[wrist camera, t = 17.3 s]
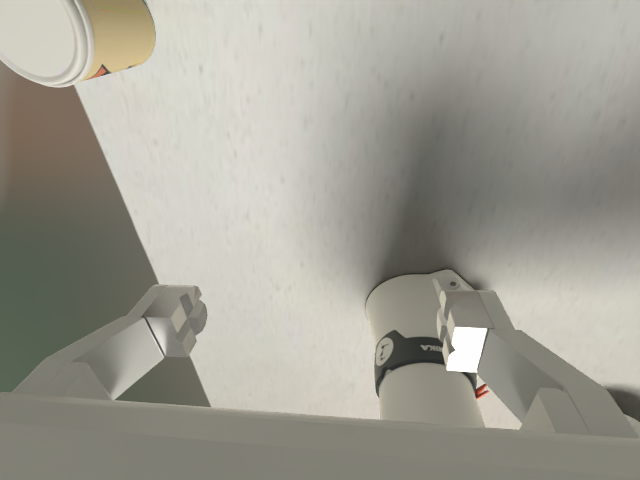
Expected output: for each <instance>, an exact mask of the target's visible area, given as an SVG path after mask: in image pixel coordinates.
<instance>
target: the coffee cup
mask: <svg viewBox="0 0 640 480" xmlns="http://www.w3.org/2000/svg"><path fill="white" fill-rule="evenodd" d="M155 41H156V34H155V26H154V22H153V19H152V16H151V14H150V12H149V10H148V8H147V6H146V5H145V3H144V2H143V1H142V0H0V60H2V62H4V63H5V64H6V65H7V66H8V67H9V68H11V69H12V70H13V71H15V72H16V73H18V74H20V75H21V76H23V77H25V78H27V79H29V80H31V81H35V82H37V83H39V84H42V85H46V86H50V87H66V86H70V85H73V84H76V83H78V82H80V81H84V80H88V79H92V78H95V77H99V76H103V75H106V74H110V73H113V72H117V71H121V70H124V69H128V68H131V67H134V66H137V65H140V64H142V63H144V62H145V61H147V60H148V59H149V57H150V56H151V54H152V52H153V50H154V47H155Z"/></svg>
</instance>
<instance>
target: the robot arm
mask: <svg viewBox="0 0 640 480" xmlns="http://www.w3.org/2000/svg"><path fill="white" fill-rule="evenodd" d="M451 282H454V283H451ZM200 297H201V292H200V290H199V287H196V286H187V285H154V286H152V287H151V288H150V289H149V290H148V291H147V293H146V294H145V295H144V296H143V297H142V299H141V300H140V301H139V302H138V303H137V304H136V305H135V307H134V308H133V309H132V310H131V311H130V312H129V314H128V315H127V316H126V317H121V318H119V319H117V320H115V321H113V322H111V323H109V324H108V325H106V326H104V327H102V328H100V329H98V330H97V331H95V332H93V333H91V334H89V335H88V336H86V337H84V338H82V339H80V340H79V341H77V342H75V343H73V344H71V345H69V346H67V347H66V348H64V349H62V350H60V351H58V352H56V353H55V354H53V355H51V356H49V357H48V358H45V359H44V360H43V361H42V362H41V363H40V364H39V365H38V366H37V367H36V368H35V369H34V370H33V372H32V373H30V374H29V375H28V377H26V379H24V380H23V381H22V382H21V384H19V385H18V386H17V388H16V389H15V390H14V391H13V392H12V393H4V392H0V480H640V437H639V436H638V434H637V433H636V431H635V430H634V429H633V427H632V426H631V424H630V423H629V421H628V420H627V418H626V417H625V415H624V414H623V412H622V411H621V409H620V408H619V406H618V405H617V404H616V402H615V401H614V399H613V398H612V396H611V395H610V393H609V392H608V390H606V389H605V388H603V387H602V386H601V385H599V384H598V383H596V382H595V381H593V380H592V379H590V378H589V377H588V376H586V375H585V374H583V373H582V372H580V371H579V370H577V369H576V368H575V367H573V366H572V365H570V364H569V363H567V362H566V361H564V360H563V359H562V358H560V357H559V356H557V355H556V354H554V353H553V352H551V351H550V350H549V349H547V348H546V347H544V346H543V345H541V344H540V343H538V342H537V341H536V340H534V339H533V338H531V337H530V336H528V335H527V334H526V333H524V332H523V331H521V330H515V328H514V327H513V325H512V323H511V321H510V319H509V317H508V315H507V313H506V311H505V309H504V307H503V305H502V303H501V301H500V300H499V298H498V296H497V294H496V292H495V291H493V290H476V291H475V290H474V289H473V288H472V287H471V286H470V285H469V284H467V283H466V282H465V281H464V280H463V279H462V278H461V277H460V276H458V275H457V274H456V273H455V272H454V271H452V270H441V271H438V272H434V273H431V274H423V275H422V274H412V275H403V276H398V277H395V278H392V279H389V280H387V281H385V282H384V283H382V284H380V285H379V286H378V287H377V288H375V289H374V290H373V292H372V293H371V294H370V296H369V297H368V299H367V302H366V308H365V311H366V316H367V319H368V322H369V325H370V328H371V331H372V336H373V341H374V345H375V351H376V352H375V365H374V367H375V386H376V393H377V395H378V397H379V402H380V420H376V419H362V418H348V417H334V416H320V415H306V414H293V413H279V412H266V411H252V410H238V409H225V408H211V407H197V406H184V405H169V404H155V403H143V402H129V401H115V400H114V399H115V398H117V397H118V396H119V395H120V394H121V393H123V392H124V391H125V390H126V389H128V388H129V387H130V386H131V385H132V384H134V383H135V382H136V381H137V380H138V379H139V378H141V377H142V376H143V375H144V374H145V373H147V372H148V371H149V370H150V369H151V368H153V367H154V366H155V365H156V364H157V363H159V362H160V361H161V360H162V359H163V358H164V357H188V356H189V354H190V352H191V350H192V348H193V347H194V345H195V343H196V337H195V336H196V335H197V334H198V333H200V332H201V331H202V330H203V328H204V326H205V324H206V320H207V309H206V306H205V304H204V303H203V302H202V301H201V300H199V299H200ZM478 378H481V379H482V380H483V381H484V382H485V383H486V384H484V385H482V386H480V387H479V388H477V389H476V384H477V379H478ZM486 386H488V387H489V388H490V389H491V390H492V391H493V392H494V393H495V394H496V395H497V396H498V398H499V399H500V400H501V401H502V402H503V403H504V404H505V405H506V406H507V407H508V408H509V410H510V411H511V412H512V413H513V414H514V415H515V416H516V417H517V418H518V419H519V420H520V422H521V423H522V426H521V428H520V430H513V429H500V428H486V427H485V425H484V422H483V418H482V415H481V412H480V409H479V406H478V403H477V399H479V398H481V397H482V396H484V395H485V394H487V393H488V392H489V391H488V390H487V391H484V392H482V391H483V390H484V389H485V388H486ZM481 392H482V393H481Z"/></svg>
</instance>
